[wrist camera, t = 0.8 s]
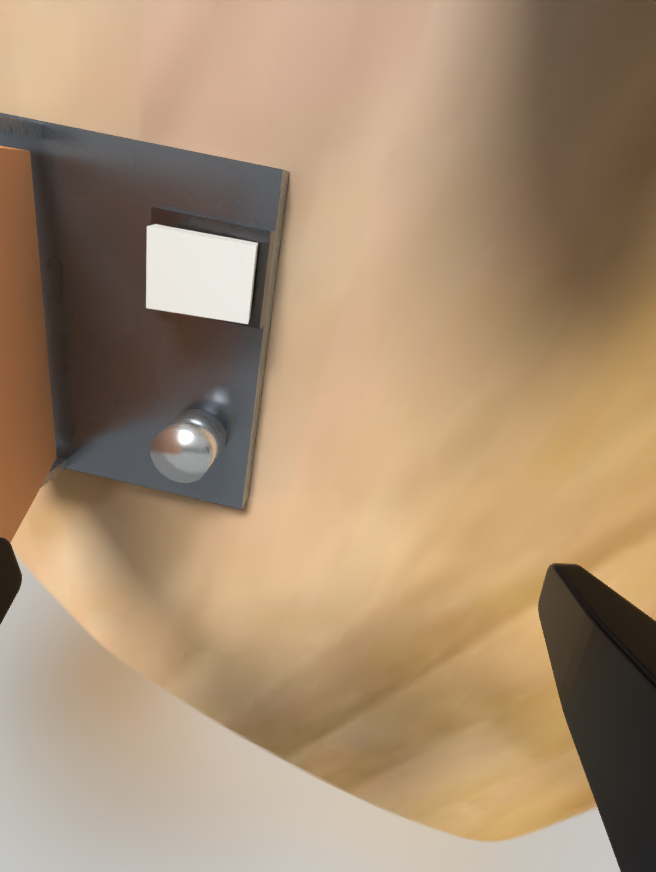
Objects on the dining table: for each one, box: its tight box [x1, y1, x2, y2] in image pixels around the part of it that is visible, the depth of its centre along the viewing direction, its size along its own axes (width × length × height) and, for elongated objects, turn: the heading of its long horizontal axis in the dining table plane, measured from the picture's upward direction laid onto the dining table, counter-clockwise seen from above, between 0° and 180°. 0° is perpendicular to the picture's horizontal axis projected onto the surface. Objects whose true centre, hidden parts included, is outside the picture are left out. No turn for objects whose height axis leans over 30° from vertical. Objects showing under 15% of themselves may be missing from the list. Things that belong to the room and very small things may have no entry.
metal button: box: [150, 408, 226, 483], centre depth 18 cm, size 2×2×2 cm
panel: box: [0, 113, 289, 509], centre depth 18 cm, size 11×13×3 cm
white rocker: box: [146, 224, 258, 324], centre depth 15 cm, size 3×2×1 cm
